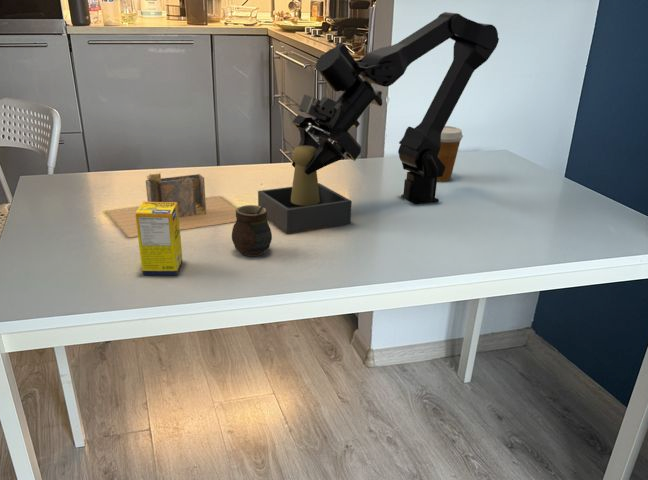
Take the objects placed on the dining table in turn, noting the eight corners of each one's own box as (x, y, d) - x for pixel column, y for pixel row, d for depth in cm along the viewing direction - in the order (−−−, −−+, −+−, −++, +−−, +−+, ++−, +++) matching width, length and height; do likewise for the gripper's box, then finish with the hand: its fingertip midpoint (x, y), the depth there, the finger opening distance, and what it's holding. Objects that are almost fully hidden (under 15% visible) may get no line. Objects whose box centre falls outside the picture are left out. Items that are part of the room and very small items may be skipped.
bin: (318, 204, 148) (319, 182, 146) (350, 223, 138) (351, 200, 135) (258, 213, 142) (257, 190, 139) (287, 233, 132) (287, 210, 129)
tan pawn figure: (285, 199, 139) (284, 145, 133) (309, 194, 142) (310, 141, 136) (300, 207, 134) (301, 152, 129) (325, 202, 137) (327, 148, 132)
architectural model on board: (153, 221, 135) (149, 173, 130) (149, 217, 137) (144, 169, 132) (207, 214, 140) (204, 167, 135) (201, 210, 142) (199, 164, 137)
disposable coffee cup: (416, 180, 166) (421, 131, 160) (422, 171, 174) (427, 123, 168) (454, 185, 164) (461, 135, 158) (459, 175, 172) (465, 127, 166)
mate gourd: (252, 241, 127) (251, 189, 122) (281, 251, 123) (281, 198, 118) (224, 251, 122) (221, 198, 117) (254, 263, 118) (252, 208, 113)
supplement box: (182, 262, 118) (178, 201, 112) (177, 276, 113) (172, 213, 107) (148, 261, 117) (142, 200, 112) (141, 275, 112) (134, 212, 107)
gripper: (301, 72, 135) (252, 133, 136) (350, 86, 121) (296, 155, 122) (333, 109, 142) (287, 167, 143) (383, 127, 128) (332, 191, 129)
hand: (299, 169), depth 134 cm, fingers closed on tan pawn figure, 5 cm apart
